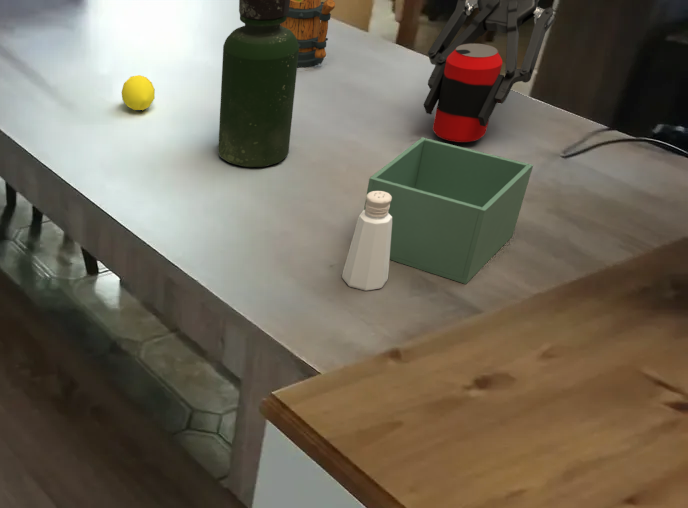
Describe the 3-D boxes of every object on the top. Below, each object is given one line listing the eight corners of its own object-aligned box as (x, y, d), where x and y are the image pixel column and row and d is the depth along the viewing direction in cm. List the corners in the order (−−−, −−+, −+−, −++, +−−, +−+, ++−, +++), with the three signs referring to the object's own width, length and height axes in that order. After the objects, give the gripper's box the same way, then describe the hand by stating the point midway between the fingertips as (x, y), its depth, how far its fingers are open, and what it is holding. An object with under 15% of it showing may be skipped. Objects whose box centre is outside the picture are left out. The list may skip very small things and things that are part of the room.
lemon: (160, 114, 152) (160, 81, 148) (129, 119, 151) (128, 86, 147) (146, 99, 157) (146, 66, 153) (116, 104, 156) (115, 71, 152)
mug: (257, 55, 170) (262, -12, 162) (301, 44, 173) (308, -23, 165) (301, 77, 161) (309, 6, 153) (347, 64, 164) (357, -5, 156)
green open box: (512, 236, 118) (533, 164, 111) (465, 284, 110) (485, 210, 104) (408, 205, 125) (422, 137, 118) (357, 249, 117) (369, 178, 111)
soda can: (423, 126, 142) (439, 44, 134) (469, 119, 142) (487, 38, 134) (447, 145, 136) (464, 62, 128) (494, 139, 137) (515, 55, 129)
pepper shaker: (331, 277, 112) (344, 193, 105) (363, 262, 115) (377, 179, 107) (365, 296, 109) (381, 211, 102) (397, 281, 111) (414, 196, 104)
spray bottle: (248, 133, 144) (261, -42, 128) (302, 152, 138) (322, -29, 122) (203, 155, 139) (210, -25, 123) (257, 176, 134) (272, -10, 117)
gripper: (600, -8, 131) (526, 142, 133) (460, -27, 141) (394, 112, 143) (599, -40, 125) (521, 118, 126) (453, -58, 135) (383, 89, 137)
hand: (454, 115), depth 135 cm, fingers closed on soda can, 7 cm apart
